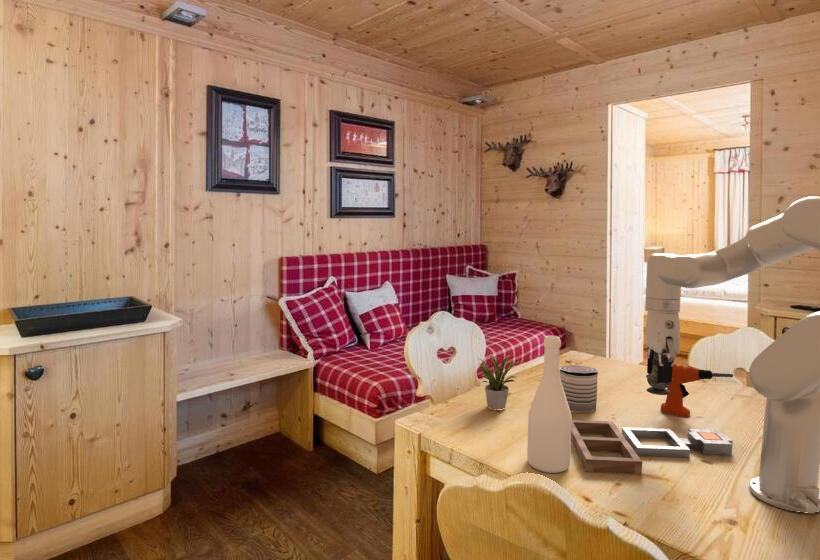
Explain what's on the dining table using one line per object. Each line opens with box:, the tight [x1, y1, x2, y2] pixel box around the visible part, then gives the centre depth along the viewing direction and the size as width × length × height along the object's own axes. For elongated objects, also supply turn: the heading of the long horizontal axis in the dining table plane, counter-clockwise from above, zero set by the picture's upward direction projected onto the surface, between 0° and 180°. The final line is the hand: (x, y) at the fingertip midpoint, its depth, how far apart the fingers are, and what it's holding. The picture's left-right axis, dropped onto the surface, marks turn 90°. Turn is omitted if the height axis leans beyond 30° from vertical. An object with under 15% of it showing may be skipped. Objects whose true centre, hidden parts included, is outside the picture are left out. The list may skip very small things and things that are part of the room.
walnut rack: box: [571, 419, 643, 475], centre depth 125 cm, size 22×12×3 cm, turn 174°
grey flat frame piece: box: [621, 426, 733, 459], centre depth 127 cm, size 12×23×3 cm, turn 84°
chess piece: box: [645, 351, 671, 396], centre depth 126 cm, size 6×6×12 cm
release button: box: [698, 433, 722, 440], centre depth 127 cm, size 4×4×3 cm
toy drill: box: [660, 362, 734, 418], centre depth 146 cm, size 5×19×15 cm, turn 56°
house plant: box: [477, 354, 526, 409], centre depth 153 cm, size 14×14×16 cm
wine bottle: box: [526, 335, 573, 474], centre depth 117 cm, size 10×10×30 cm
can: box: [559, 364, 600, 414], centre depth 154 cm, size 11×11×12 cm
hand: (659, 377), depth 126 cm, fingers closed on chess piece, 5 cm apart
